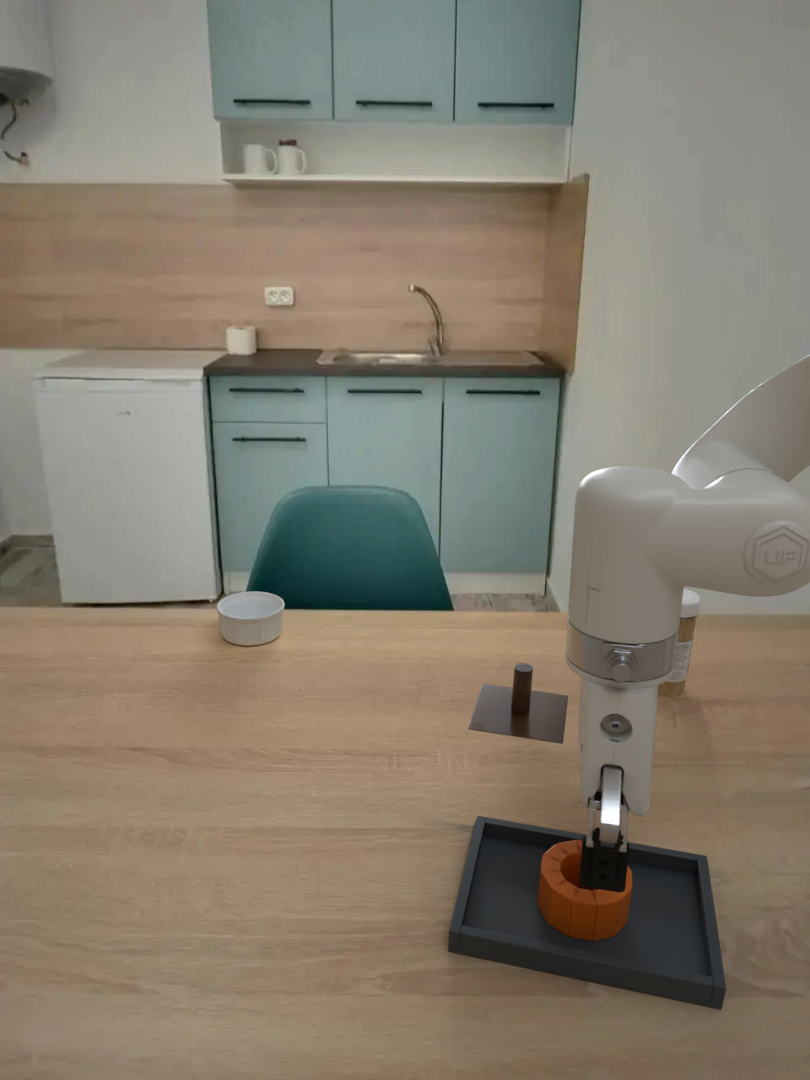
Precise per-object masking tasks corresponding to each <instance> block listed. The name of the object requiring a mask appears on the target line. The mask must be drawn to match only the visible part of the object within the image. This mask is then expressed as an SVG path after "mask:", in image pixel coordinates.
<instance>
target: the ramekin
mask: <svg viewBox="0 0 810 1080" xmlns="http://www.w3.org/2000/svg"><path fill="white" fill-rule="evenodd" d="M285 606H286V604H285V601H284V599H283V598H282V597H281V596H279V595H277V594H274V593H270V592H266V591H253V590H252V591H242V592H237V593H232V594H230V595H227V596H225V597H223V598H221V599H220V600H219V601H218V602H217V604H216V612H217V614H218V621H219V627H220V634H221V636H222V637H223V639H224V640H225V641H227V642H229V643H230V644H233V645H238V646H245V647H246V646H247V647H248V646H261V645H264V644H268V643H270V642H272V641H274V640H277V638H278V637H279V636H280V635H281V634H282V631H283V617H284V611H285Z"/></svg>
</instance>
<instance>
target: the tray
mask: <svg viewBox="0 0 810 1080" xmlns="http://www.w3.org/2000/svg"><path fill="white" fill-rule="evenodd" d="M583 836H585V837H586V836H587V834H585V833H579V832H574V831H568V830H562V829H558V828H557V829H556V828H551V827H546V826H545V827H544V826H539V825H533V824H529V823H528V824H527V823H524V822H517V821H511V820H505V819H499V818H494V817H488V816H484V815H483V816H482V815H477V816H476V819H475V823H474V828H473V831H472V836H471V840H470V844H469V848H468V853H467V856H466V859H465V860H466V861H465V864H464V869H463V873H462V877H461V881H460V885H459V889H458V894H457V897H456V902H455V906H454V909H453V914H452V918H451V922H450V926H449V929H448V930H449V931H448V945H447V946H448V947H447V951H448V952H449V953H454V954H460V955H464V956H468V957H473V958H478V959H482V960H487V961H492V962H497V963H502V964H506V965H511V966H516V967H520V968H525V969H529V970H533V971H539V972H544V973H547V974H548V973H549V974H552V975H558V976H561V977H566V978H567V977H568V978H572V979H577V980H581V981H585V982H591V983H596V984H601V985H604V986H608V987H614V988H619V989H624V990H629V991H632V992H638V993H643V994H648V995H652V996H656V997H657V996H658V997H661V998H666V999H670V1000H676V1001H679V1002H684V1003H689V1004H694V1005H699V1006H704V1007H709V1008H712V1009H717V1010H722V1009H723V1005H724V1001H725V995H726V991H727V986H726V985H727V984H726V979H725V971H724V964H723V957H722V951H721V944H720V936H719V930H718V923H717V916H716V909H715V902H714V895H713V889H712V882H711V875H710V868H709V861H708V856H707V855H704V854H699V853H693V852H687V851H681V850H675V849H670V848H664V847H658V846H653V845H647V844H642V843H635V842H629V841H627V843H629V856H628V867H629V868H630V869H631V871H632V893H631V900H630V906H629V913H628V919H627V923H626V924H625V925H624V927H623V928H622V929H621V930H620V931H619V932H618V933H617V934H616V935H615V936H613V937H609V938H605V939H601V940H597V941H593V940H592V941H589V940H584V939H579V938H574V937H569V935H568V936H566V935H565V934H563V933H562V932H560V931H559V930H557V929H556V928H554V927H553V926H551V925H550V924H548V922H547V921H546V920H545V918H544V916H543V914H542V913H541V911H540V909H539V907H538V905H537V902H538V892H539V882H540V872H541V864H542V856H543V855H544V854H545V853H546V852H547V851H548V850H549V849H550V848H551V847H553V846H554V845H555V844H557V843H562V842H567V841H572V840H576V841H577V840H583ZM576 887H577V886H576ZM578 888H580V889H586V890H591V889H588V888H583V887H578ZM591 891H593V890H591Z"/></svg>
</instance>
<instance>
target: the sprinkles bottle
mask: <svg viewBox="0 0 810 1080" xmlns="http://www.w3.org/2000/svg"><path fill="white" fill-rule="evenodd" d="M700 607H701V597H700V595H698V593H696V592H695V591H693V590H690V589H686V588H684V589H683V597H682V606H681V614H680V623H679V632H678V640H677V649H676V658H675V667H674V672H673V675H672V676H671V677H670V678H669V679H668V680H667V681H665V682H663V683H661V684H659V685H658V696H661V697H668V698H675V697H679V696H681V695H683V694H684V692H685V688H686V682H687V678H688V674H689V668H690V661H691V656H692V650H693V646H694V645H693V644H694V638H695V637H694V635H695V628H696V621H697V618H698V615H699V614H700V609H701V608H700Z"/></svg>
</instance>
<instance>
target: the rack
mask: <svg viewBox="0 0 810 1080" xmlns="http://www.w3.org/2000/svg"><path fill="white" fill-rule="evenodd" d="M533 673H534V666H532V665H531V664H529V663H525V662H520V663H516V664H514V668H513V679H512V680H513V681H512V687H511V686H504V685H496V684H489V683H483V682H482V683H481V686H480V688H479V693H478V695H477V698H476V701H475V706H474V708H473V711H472V714H471V717H470V722H469V725H468V730H469V731H470V730H471V731H476V732H482V733H488V734H496V735H502V736H508V737H516V738H521V739H528V740H529V739H530V740H535V741H541V742H548V743H554V744H561V745H563V744H564V739H565V738H564V737H565V731H566V730H565V729H566V721H567V720H566V718H567V711H568V701H569V695H567V694H560V693H552V692H546V691H540V690H539V691H538V690H532V687H533V686H532V685H533V676H534V675H533Z"/></svg>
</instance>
